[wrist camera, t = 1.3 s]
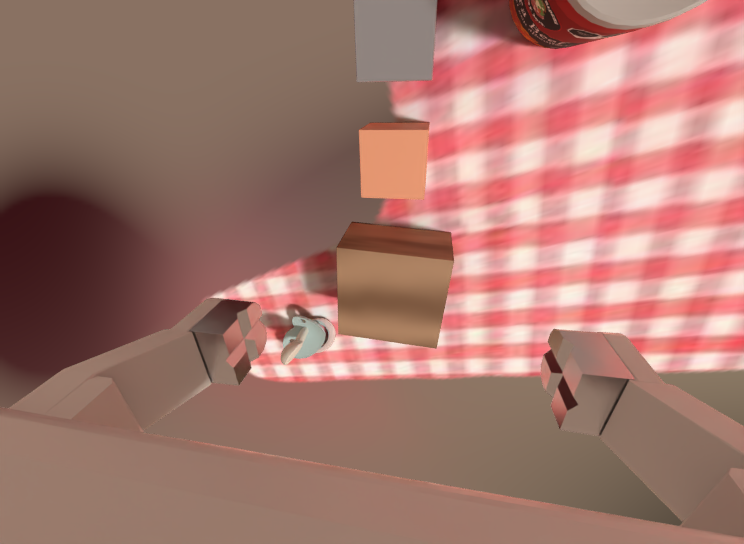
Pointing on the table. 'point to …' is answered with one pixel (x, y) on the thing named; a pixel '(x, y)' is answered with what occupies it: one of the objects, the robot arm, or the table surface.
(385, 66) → the gray metal cube
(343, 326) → the walnut block
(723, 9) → the table surface
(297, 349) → the pacifier
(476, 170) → the table surface
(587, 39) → the canned food
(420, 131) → the terracotta cube
